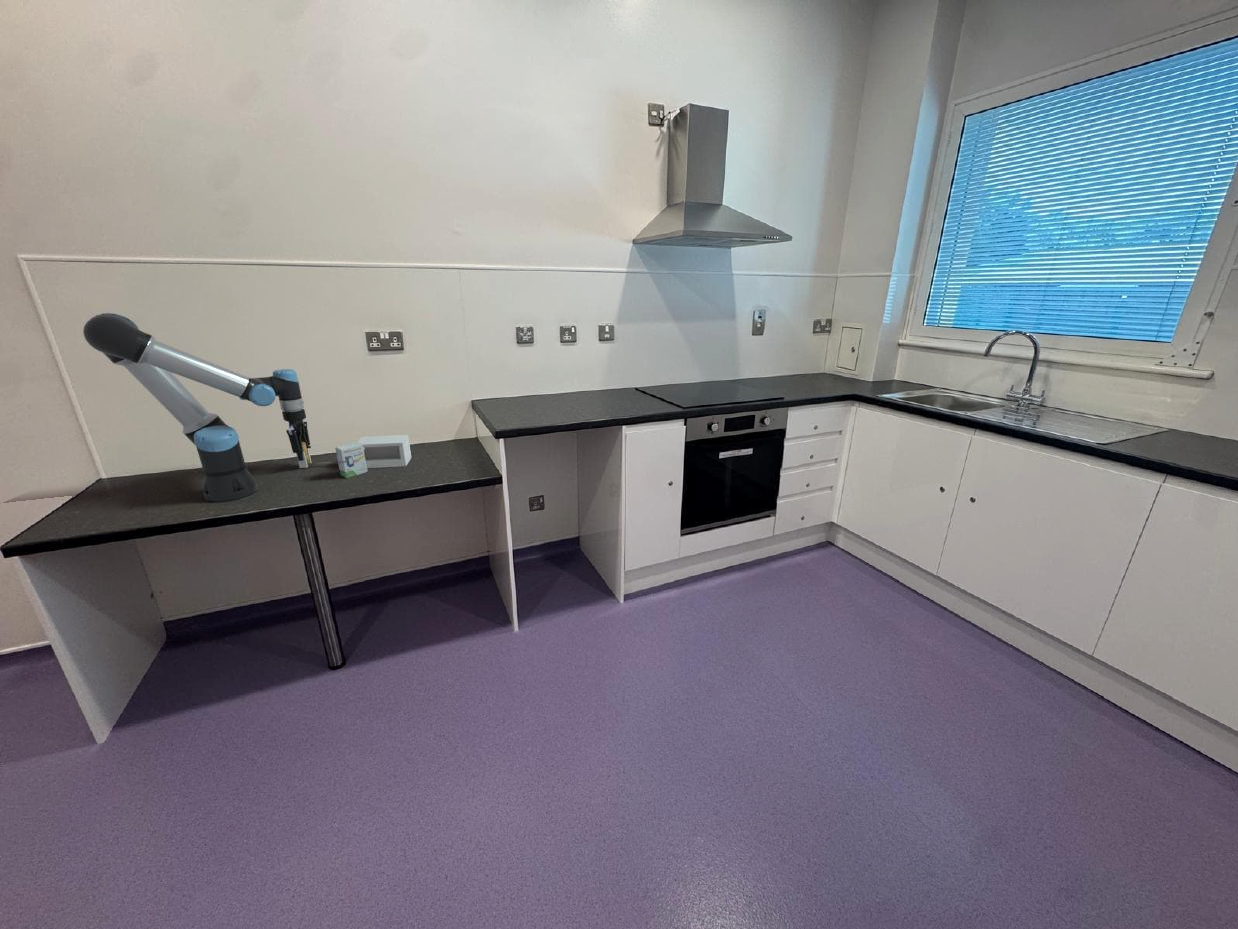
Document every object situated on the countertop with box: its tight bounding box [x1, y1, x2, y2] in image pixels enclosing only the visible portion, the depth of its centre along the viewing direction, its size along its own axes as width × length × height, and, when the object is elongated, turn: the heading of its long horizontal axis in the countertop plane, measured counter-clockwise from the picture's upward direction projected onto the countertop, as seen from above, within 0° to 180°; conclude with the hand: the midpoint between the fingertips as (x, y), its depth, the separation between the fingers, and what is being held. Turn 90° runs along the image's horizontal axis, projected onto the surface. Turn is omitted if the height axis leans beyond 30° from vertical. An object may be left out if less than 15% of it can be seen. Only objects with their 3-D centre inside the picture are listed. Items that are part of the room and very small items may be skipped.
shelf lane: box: [356, 434, 412, 469], centre depth 204 cm, size 18×11×10 cm, turn 101°
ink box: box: [335, 441, 368, 479], centre depth 192 cm, size 9×5×12 cm, turn 143°
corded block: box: [302, 442, 338, 469], centre depth 200 cm, size 22×6×10 cm, turn 101°
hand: (305, 465), depth 200 cm, fingers closed on corded block, 3 cm apart
